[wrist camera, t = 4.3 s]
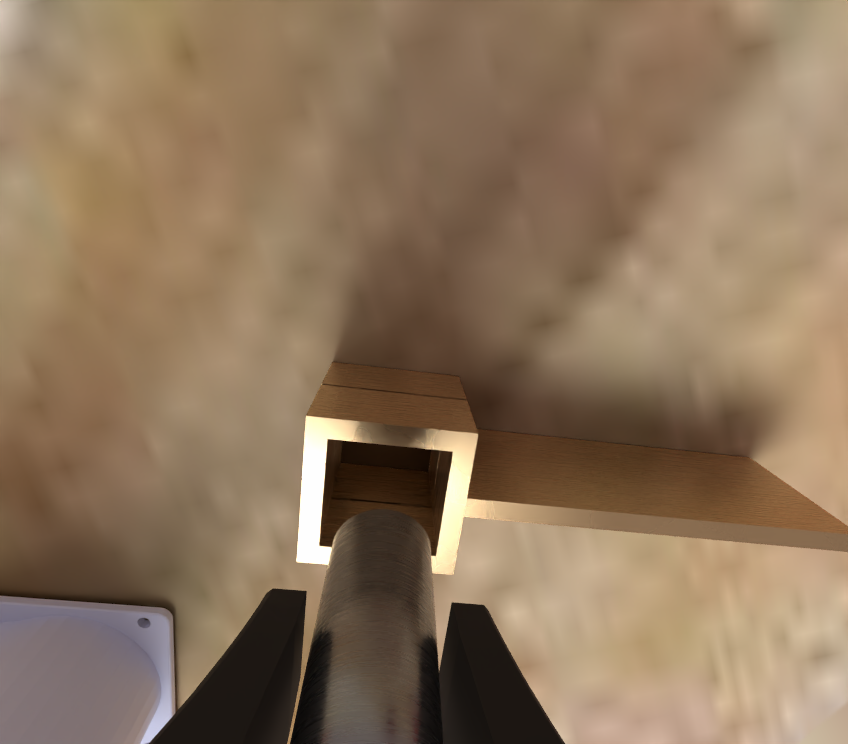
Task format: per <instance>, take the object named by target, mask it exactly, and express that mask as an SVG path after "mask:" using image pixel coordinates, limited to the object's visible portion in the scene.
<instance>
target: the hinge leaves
mask: <svg viewBox="0 0 848 744" xmlns="http://www.w3.org/2000/svg"><path fill="white" fill-rule="evenodd" d="M342 440H343V441H353V442H363V443H373V444H383V445H393V446H403V447H413V448H423V449H431V456H430V462H429V469H428V471H418V470H408V469H398V468H387V467H377V466H367V465H357V464H346V463H340V462H341V451H342ZM374 509H389V510H394V511H398V512H401V513H404V514H406V515H408V516H410V517H412V518H413V519H415V520H416V521H417V522H418V523H419V524H420V525H421V526H422V527H423V528H424V530H425V531H426V533H427V535H428V537H429V540H430V546H431V560H432V573H438V574H450V575H453V574H454V568H455V562H456V557H457V551H458V546H459V540H460V534H461V529H462V523H463V517H471V518H482V519H493V520H504V521H515V522H526V523H537V524H548V525H559V526H570V527H581V528H592V529H603V530H614V531H625V532H636V533H647V534H658V535H669V536H680V537H691V538H702V539H713V540H724V541H735V542H745V543H756V544H767V545H778V546H789V547H800V548H811V549H822V550H833V551H844V552H848V526H847V525H845V524H844V523H842V522H841V521H840V520H838V519H837V518H835V517H834V516H832V515H831V514H830V513H828V512H827V511H825V510H824V509H822V508H821V507H819V506H818V505H817V504H815V503H814V502H812V501H811V500H809V499H808V498H807V497H805V496H804V495H802V494H801V493H799V492H798V491H797V490H795V489H794V488H792V487H791V486H789V485H788V484H787V483H785V482H784V481H782V480H781V479H779V478H778V477H777V476H775V475H774V474H772V473H771V472H769V471H768V470H767V469H765V468H764V467H762V466H761V465H759V464H758V463H757V462H755V461H754V460H752V459H751V458H749V457H740V456H731V455H721V454H712V453H702V452H692V451H683V450H673V449H664V448H654V447H645V446H635V445H626V444H616V443H607V442H597V441H588V440H578V439H569V438H559V437H550V436H540V435H531V434H521V433H512V432H502V431H493V430H483V429H477V428H476V425H475V422H474V419H473V416H472V414H471V411H470V408H469V405H468V402H467V399H466V396H465V393H464V390H463V387H462V384H461V381H460V378H459V376H453V375H444V374H435V373H426V372H417V371H408V370H400V369H391V368H382V367H373V366H364V365H355V364H347V363H338V362H332V364H331V366H330V368H329V370H328V372H327V374H326V376H325V378H324V380H323V382H322V385H321V386H320V388H319V390H318V392H317V394H316V397H315V399H314V401H313V403H312V405H311V407H310V409H309V411H308V413H307V415H306V424H305V440H304V455H303V471H302V487H301V502H300V518H299V534H298V549H297V562H304V563H316V564H328V563H329V558H330V553H331V548H332V544H333V540H334V537H335V534H336V533H337V531H338V529H339V528H340V527H341V526H342V524H343V523H344V522H346V521H347V520H348V519H349V518H351V517H353V516H354V515H357V514H359V513H361V512H364V511H368V510H374Z"/></svg>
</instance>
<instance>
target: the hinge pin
mask: <svg viewBox="0 0 848 744" xmlns="http://www.w3.org/2000/svg"><path fill="white" fill-rule="evenodd" d="M290 744H443V729H442V714H441V699H440V683H439V668H438V652H437V637H436V622H435V606H434V591H433V576H432V560H431V546H430V540H429V537H428V535H427V533H426V531H425V530H424V528H423V527H422V526H421V525H420V524H419V523H418V522H417V521H416V520H415V519H413V518H412V517H410V516H408V515H406V514H404V513H401V512H398V511H394V510H389V509H374V510H368V511H364V512H361V513H359V514H357V515H354V516H353V517H351V518H349V519H348V520H347V521H346V522H344V523H343V524H342V526H341V527H340V528H339V529H338V531H337V533H336V534H335V537H334V540H333V544H332V548H331V553H330V558H329V563H328V567H327V572H326V577H325V582H324V586H323V591H322V596H321V600H320V605H319V610H318V615H317V619H316V624H315V629H314V634H313V638H312V643H311V648H310V652H309V657H308V662H307V667H306V671H305V676H304V681H303V686H302V690H301V695H300V700H299V705H298V709H297V714H296V719H295V723H294V728H293V733H292V738H291V742H290Z"/></svg>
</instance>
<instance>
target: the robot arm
mask: <svg viewBox="0 0 848 744" xmlns="http://www.w3.org/2000/svg"><path fill="white" fill-rule="evenodd" d="M306 592H307V591H298V590H285V589H272V590H270V591H269V592H268V593H266V595H265V597H264V598H263V600H262V601H261V603H260V605H259V606H258V608H257V609H256V610H255V612H254V613H253V615H252V616H251V618H250V619H249V621H248V622H247V624H246V625H245V626H244V628H243V629H242V631H241V632H240V633H239V635H238V636H237V637H236V639H235V640H234V641H233V643H232V644H231V645H230V647H229V648H228V649H227V651H226V652H225V653H224V655H223V656H222V657H221V658H220V660H219V661H218V662H217V663H216V665H215V666H214V667H213V668H212V670H211V671H210V672H209V673H208V675H207V676H206V677H205V678H204V680H203V681H202V682H201V683H200V685H199V686H198V687H197V688H196V690H195V691H194V692H193V693H192V694H191V696H190V697H189V698H188V699H187V700H186V702H185V703H184V704H183V705H182V706H181V707H180V708H179V710H178V711H177V712H175V675H174V637H173V616H172V614H171V613H170V611H169V610H167V609H165V608H160V607H146V606H133V605H119V604H106V603H92V602H78V601H65V600H51V599H38V598H24V597H10V596H0V744H287V741H288V737H289V732H290V727H291V722H292V717H293V712H294V707H295V702H296V697H297V691H298V686H299V681H300V675H301V661H302V647H303V634H304V620H305V606H306ZM144 618H147V619H148V620H145V619H144ZM439 683H440V699H441V714H442V729H443V744H565V743H564V741H563V740H562V738H561V737H560V735H559V734H558V732H557V731H556V729H555V727H554V726H553V724H552V723H551V721H550V719H549V718H548V716H547V715H546V713H545V711H544V710H543V708H542V706H541V705H540V703H539V701H538V700H537V698H536V697H535V695H534V693H533V692H532V690H531V688H530V687H529V685H528V683H527V682H526V680H525V678H524V676H523V675H522V673H521V671H520V669H519V668H518V666H517V664H516V662H515V660H514V659H513V657H512V655H511V653H510V651H509V650H508V648H507V646H506V644H505V642H504V640H503V638H502V637H501V635H500V633H499V631H498V629H497V627H496V625H495V623H494V621H493V619H492V617H491V615H490V613H489V611H488V610H487V608H486V607H485V606H484V605H477V604H465V603H452V604H451V610H450V615H449V621H448V627H447V632H446V638H445V643H444V649H443V654H442V660H441V665H440V671H439Z"/></svg>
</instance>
